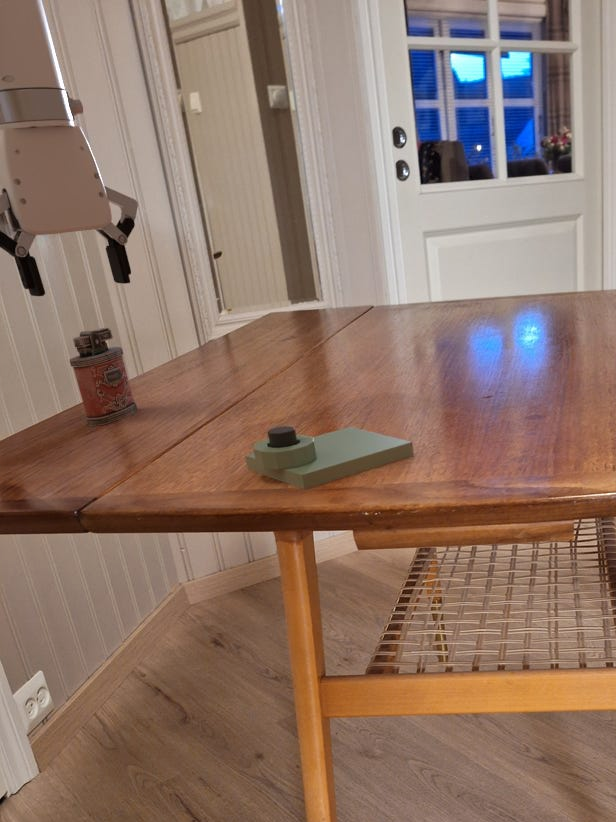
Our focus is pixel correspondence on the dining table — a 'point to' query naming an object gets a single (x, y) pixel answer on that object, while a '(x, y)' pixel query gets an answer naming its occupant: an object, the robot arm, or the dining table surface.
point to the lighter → (102, 378)
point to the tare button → (282, 437)
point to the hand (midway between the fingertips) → (81, 289)
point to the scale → (327, 456)
